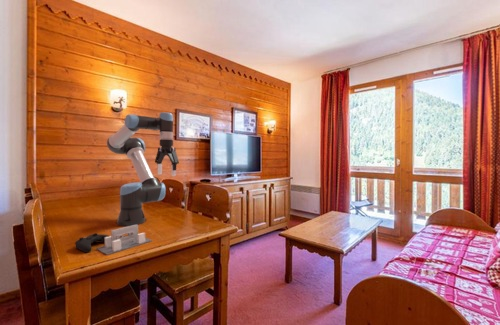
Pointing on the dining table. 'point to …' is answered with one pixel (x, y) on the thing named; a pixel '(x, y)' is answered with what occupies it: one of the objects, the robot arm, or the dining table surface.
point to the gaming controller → (89, 241)
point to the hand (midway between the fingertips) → (166, 175)
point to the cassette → (130, 230)
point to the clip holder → (117, 244)
